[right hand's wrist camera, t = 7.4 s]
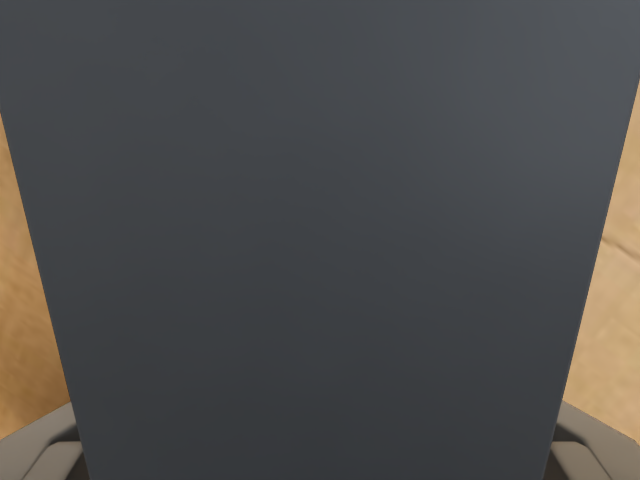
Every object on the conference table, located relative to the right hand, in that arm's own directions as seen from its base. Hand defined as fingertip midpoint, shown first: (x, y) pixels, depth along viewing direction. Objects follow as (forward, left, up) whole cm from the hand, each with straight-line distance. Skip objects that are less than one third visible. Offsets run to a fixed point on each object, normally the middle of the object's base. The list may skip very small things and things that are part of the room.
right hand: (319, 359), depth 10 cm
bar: (+8, 0, -4) cm, 9 cm away
